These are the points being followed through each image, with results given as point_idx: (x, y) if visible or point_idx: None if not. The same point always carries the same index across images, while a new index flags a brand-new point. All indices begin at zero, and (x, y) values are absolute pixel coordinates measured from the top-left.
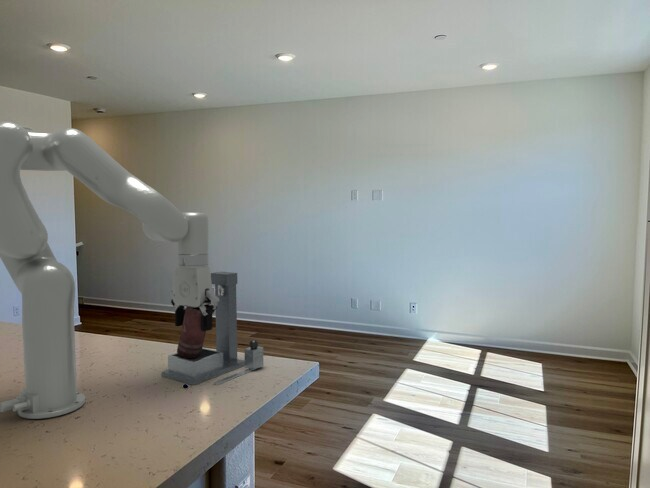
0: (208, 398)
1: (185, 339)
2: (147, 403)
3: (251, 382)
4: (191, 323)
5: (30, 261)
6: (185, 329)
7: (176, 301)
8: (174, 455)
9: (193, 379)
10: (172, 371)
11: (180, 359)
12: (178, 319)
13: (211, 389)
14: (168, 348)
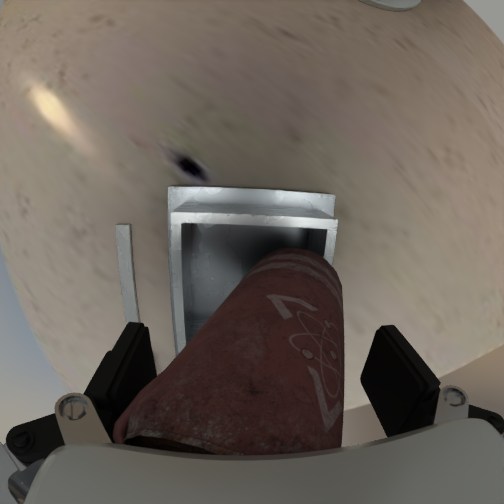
0: (72, 143)
1: (268, 276)
2: (185, 30)
3: (71, 286)
4: (213, 336)
5: None
6: (270, 301)
7: (456, 442)
8: (16, 2)
9: (175, 192)
10: (298, 208)
11: (257, 214)
12: (391, 358)
13: (106, 191)
14: (444, 354)
